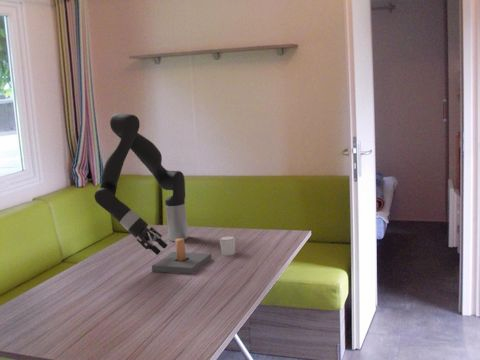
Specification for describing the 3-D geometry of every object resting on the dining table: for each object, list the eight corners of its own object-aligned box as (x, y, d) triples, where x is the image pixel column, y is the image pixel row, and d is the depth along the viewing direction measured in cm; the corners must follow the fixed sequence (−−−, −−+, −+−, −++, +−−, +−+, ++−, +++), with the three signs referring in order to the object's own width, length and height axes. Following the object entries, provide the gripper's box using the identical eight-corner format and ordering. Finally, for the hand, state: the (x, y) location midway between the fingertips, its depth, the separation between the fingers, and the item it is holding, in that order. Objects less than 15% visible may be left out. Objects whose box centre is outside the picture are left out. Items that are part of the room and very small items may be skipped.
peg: (180, 263, 234) (177, 238, 232) (188, 264, 232) (185, 238, 230) (176, 266, 230) (173, 240, 228) (184, 267, 229) (181, 241, 227)
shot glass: (236, 255, 239) (235, 239, 238) (220, 256, 240) (218, 240, 238) (236, 250, 246) (235, 235, 245) (221, 251, 246) (219, 236, 245)
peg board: (173, 257, 243) (173, 251, 243) (211, 259, 236) (210, 253, 236) (152, 271, 227) (151, 265, 226) (192, 274, 220) (191, 267, 219)
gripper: (132, 221, 224) (162, 249, 224) (145, 213, 238) (173, 239, 238) (121, 234, 226) (151, 261, 226) (134, 225, 240) (162, 251, 240)
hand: (162, 250), depth 232 cm, fingers open, 8 cm apart
